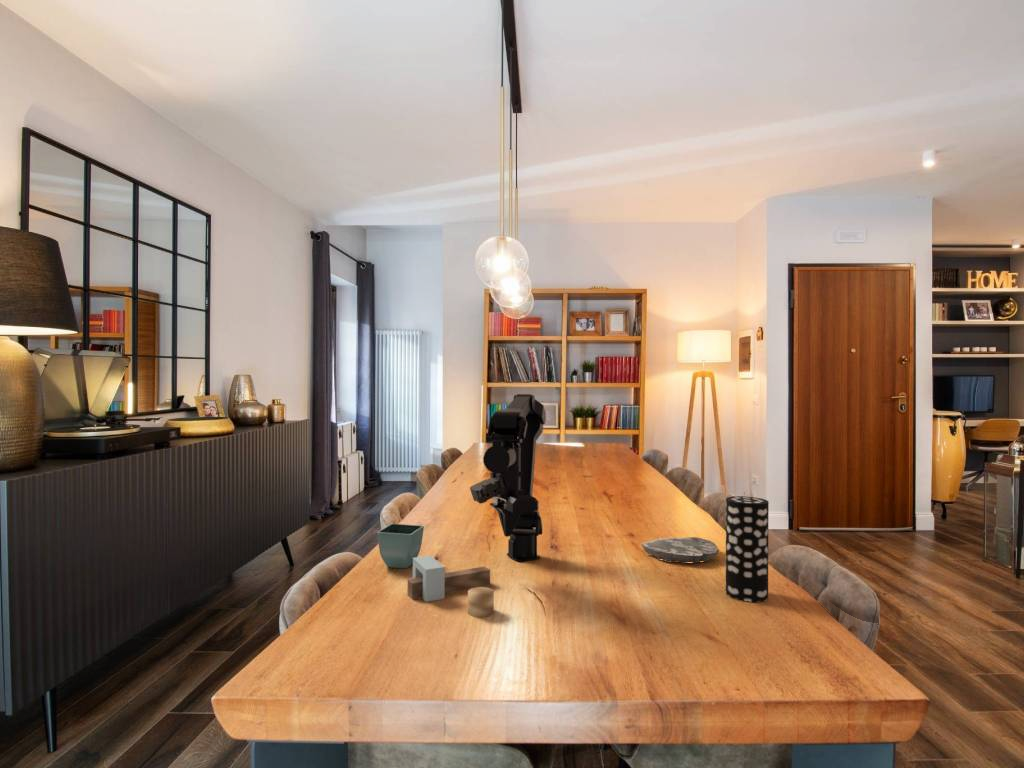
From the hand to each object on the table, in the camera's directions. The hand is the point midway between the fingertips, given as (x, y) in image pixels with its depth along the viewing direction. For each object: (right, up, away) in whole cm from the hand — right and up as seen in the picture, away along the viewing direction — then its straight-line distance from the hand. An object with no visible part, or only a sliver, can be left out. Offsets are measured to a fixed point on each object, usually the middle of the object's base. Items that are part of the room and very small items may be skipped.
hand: (507, 536), depth 130 cm
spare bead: (-5, -10, -18) cm, 21 cm away
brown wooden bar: (-12, -10, -6) cm, 17 cm away
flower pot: (-26, -10, +11) cm, 30 cm away
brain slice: (+46, -11, +19) cm, 51 cm away
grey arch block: (-17, -10, -8) cm, 21 cm away
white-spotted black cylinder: (+51, -10, -8) cm, 52 cm away
